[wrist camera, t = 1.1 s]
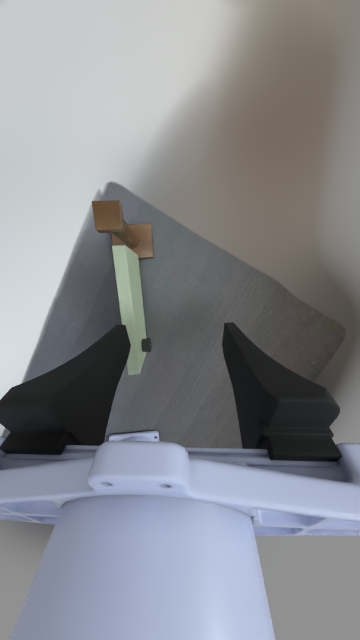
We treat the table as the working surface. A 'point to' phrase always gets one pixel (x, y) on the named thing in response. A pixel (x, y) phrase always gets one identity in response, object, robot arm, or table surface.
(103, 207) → the wooden stand
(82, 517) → the robot arm
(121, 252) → the door
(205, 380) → the table surface
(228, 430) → the table surface
